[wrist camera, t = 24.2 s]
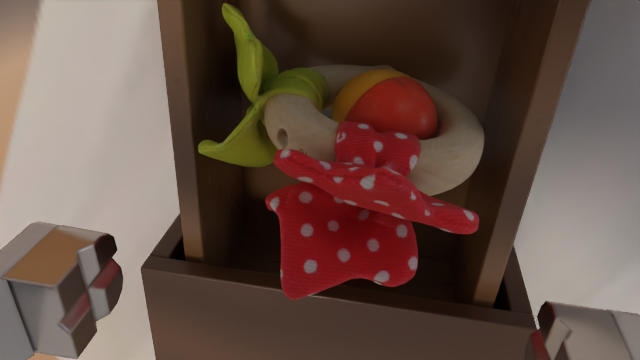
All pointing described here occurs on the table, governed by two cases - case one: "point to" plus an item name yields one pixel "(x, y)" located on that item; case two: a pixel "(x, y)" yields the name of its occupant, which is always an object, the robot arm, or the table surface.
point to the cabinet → (319, 317)
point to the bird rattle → (350, 163)
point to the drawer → (331, 49)
